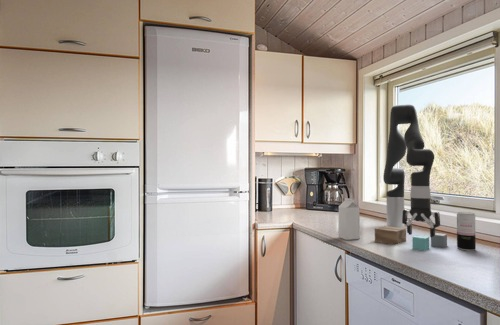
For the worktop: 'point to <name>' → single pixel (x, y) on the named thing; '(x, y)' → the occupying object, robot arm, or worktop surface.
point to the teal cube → (420, 242)
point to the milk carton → (349, 220)
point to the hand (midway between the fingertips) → (420, 235)
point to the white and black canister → (466, 231)
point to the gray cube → (439, 240)
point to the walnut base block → (390, 235)
